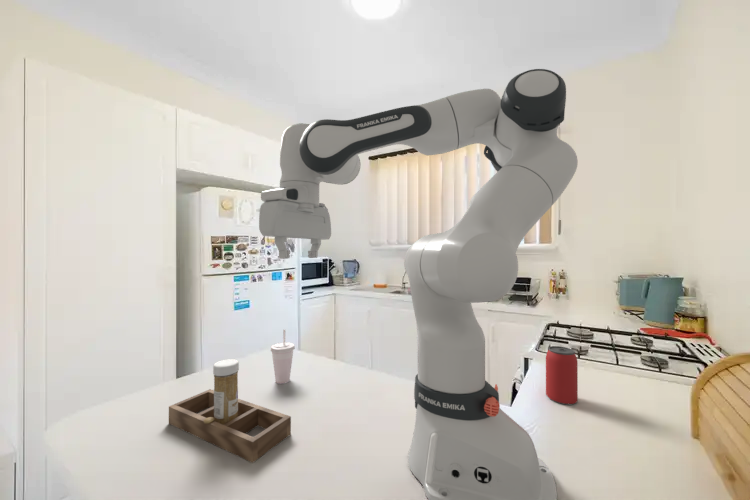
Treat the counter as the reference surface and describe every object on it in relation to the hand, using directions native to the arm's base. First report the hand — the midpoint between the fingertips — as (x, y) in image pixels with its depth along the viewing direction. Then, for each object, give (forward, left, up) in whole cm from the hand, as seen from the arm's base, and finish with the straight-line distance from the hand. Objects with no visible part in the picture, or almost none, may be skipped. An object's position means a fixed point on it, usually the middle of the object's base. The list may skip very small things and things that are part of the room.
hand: (299, 258), depth 69 cm
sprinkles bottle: (+7, +13, -34) cm, 37 cm away
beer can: (-53, -33, -34) cm, 72 cm away
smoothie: (+14, -9, -34) cm, 38 cm away
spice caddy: (+7, +13, -34) cm, 37 cm away
